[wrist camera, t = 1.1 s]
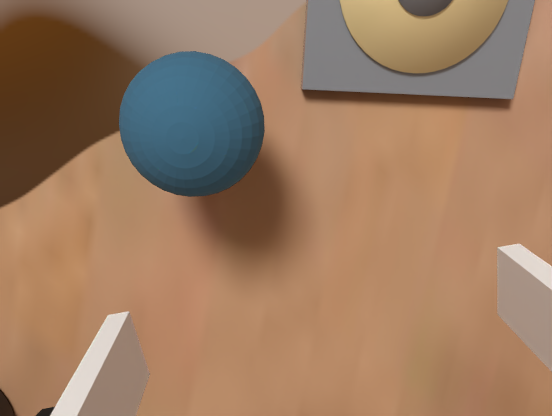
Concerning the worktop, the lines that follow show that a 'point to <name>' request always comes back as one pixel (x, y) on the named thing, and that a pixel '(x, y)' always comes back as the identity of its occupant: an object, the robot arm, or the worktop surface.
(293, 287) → the worktop surface
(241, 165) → the light bulb
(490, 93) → the socket board
